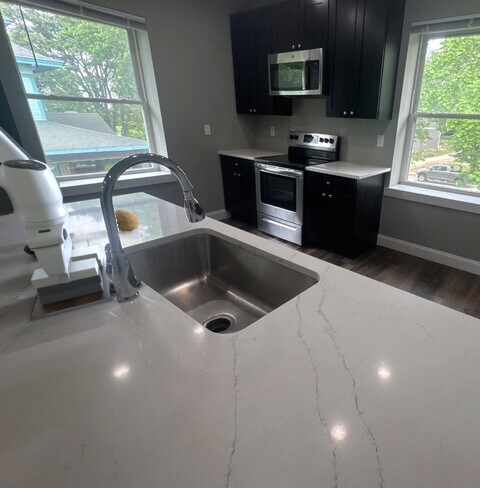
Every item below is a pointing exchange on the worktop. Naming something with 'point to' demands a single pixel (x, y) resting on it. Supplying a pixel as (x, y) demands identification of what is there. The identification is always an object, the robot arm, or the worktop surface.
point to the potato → (126, 220)
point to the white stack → (87, 254)
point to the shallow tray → (75, 301)
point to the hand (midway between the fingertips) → (68, 274)
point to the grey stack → (70, 289)
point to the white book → (74, 270)
